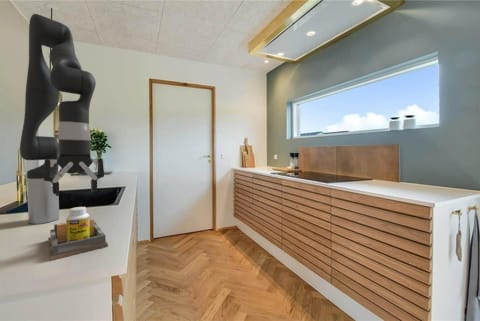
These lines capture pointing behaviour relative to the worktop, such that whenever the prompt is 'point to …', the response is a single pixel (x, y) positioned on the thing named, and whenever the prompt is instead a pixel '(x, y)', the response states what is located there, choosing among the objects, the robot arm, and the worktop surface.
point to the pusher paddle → (63, 230)
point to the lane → (75, 243)
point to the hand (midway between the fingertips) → (75, 193)
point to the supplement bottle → (77, 224)
